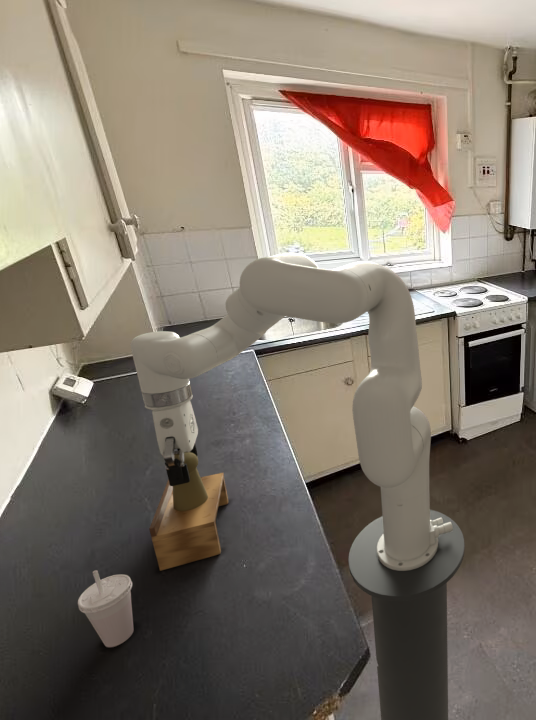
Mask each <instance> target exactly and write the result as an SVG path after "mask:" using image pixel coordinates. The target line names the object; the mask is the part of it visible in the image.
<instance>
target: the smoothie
mask: <svg viewBox="0 0 536 720" xmlns="http://www.w3.org/2000/svg"><path fill="white" fill-rule="evenodd" d="M92 576H93V579H94V581H95V582H94V583H93V584H91V585H90V586H88V587H87V588H86V589H85V590H84V591H83V592H82V593H81V594H80V596H79V597H78V600H77V606H78V610H79V611H80V612H81V613H83V614H84V615H85V616H86V618H87V619H88V621H89V622H90V625H91V626H92V627H93V629H94V630H95V632H96V633H97V635H98V637H99V638H100V640H101V642H102V643H103V645H104V646H105V647H106V648H114V647H117V646H119V645H121V644H123V643H124V642H126V641H127V640H128V639H129V638H130V637H131V636H132V635H133V633H134V631H135V630H134V616H133V605H132V592H131V590H132V588H133V581H132V579H131V577H130V576H129V575H128V574H123V573H122V574H121V573H119V574H113V575H110V576H107V577H103V578H102V579H101V578H100V574H99V571H98V569H95V570H93V571H92Z"/></svg>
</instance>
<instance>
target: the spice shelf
mask: <svg viewBox="0 0 536 720" xmlns="http://www.w3.org/2000/svg"><path fill="white" fill-rule="evenodd" d="M200 477H201V480H202V482H203V485H204V487H205V490H206V492H207V495H208V499H207V500H206V501H205V503H203V504H202V505H200V506H199V507H196V508H194V509H191V510H187V511H177V510H175V509H174V505H173V486H170V484H169V479H168V478H167V480H166V484H165V487H164V490H163V492H162V495H161V497H160V500H159V502H158V505H157V508H156V510H155V512H154V515H153V517H152V520H151V523H150V526H149V534H150V538H151V541H152V545H153V548H154V553H155V556H156V561H157V565H158V568H159V571H160V572H162V571H164V570H168V569H173V568H175V567H179V566H183V565H186V564H190V563H193V562H196V561H200V560H204V559H208V558H210V557H214V556H217V555H221V552H222V547H221V542H220V538H219V533H218V532H219V531H218V528H217V523H216V520H217V515H218V509H219V507H221V506H225V505H228V504H229V495H228V491H227V484H226V480H225V476H224V472H219V473H215V474H214V473H213V474H210V475H209V474H208V475H205V476H200Z"/></svg>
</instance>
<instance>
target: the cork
mask: <svg viewBox="0 0 536 720" xmlns="http://www.w3.org/2000/svg"><path fill="white" fill-rule="evenodd" d="M176 458H177V459H178V460H179V461H180V459H179V455H175V459H176ZM186 463H187V468H188V472H189V477H190V481H189V482H188V483H185V484H180V485H175V486H173V505H174V509H175V510H177V511H187V510H191V509H194V508H196V507H199V506H200V505H202V504H203V503H205V501H206V500H207V499H208V495H207V492H206V490H205V487H204V485H203V482H202V480H201V477H202V476H200V472H199V470H198V468H197V467H198V465H199V458H198V456H196V455H195V454H194V453H191V452H185V453H184V464H186Z"/></svg>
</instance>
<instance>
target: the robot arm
mask: <svg viewBox="0 0 536 720" xmlns="http://www.w3.org/2000/svg"><path fill="white" fill-rule="evenodd" d="M225 311H226V313H227V314H226V315H225V316H224V317H222V318H220V320H218V321H217V322H216V323H214V324H213V325H211V326H209V327H206V328H203V329H201V330H197V331H195V332H192V333H190V334H188V335H184V336H181V337H180V335H179V334H177V333H176V332H174V331H167V330H160V331H151V332H146V333H141V334H139V335H137V336H135V337H133V339H132V340H130V351H131V354H132V359H133V363H134V367H135V372H136V374H137V375H136V376H137V379H138V383H139V384H138V385H139V388H140V392H141V396H142V401H143V404H144V408H145V409H146V410H151V413H152V414H151V415H152V422H153V426H154V427H153V428H154V431H155V437H156V441H157V446H158V449H159V453H160V455H161V456H162V457H163V460H164V466H165V471H166V475H167V480H168V479H169V484H170V486H175V485H180V484H185V483H188V482H189V481H190V477H189V472H188V468H187V463H186V464H184V453H185V452H191V453H194V454H195V455H196V456H197V457H198V456H199V452H198V448H197V445H196V441H197V437H198V434H199V427H198V423H197V419H196V416H195V412H194V408H193V405H192V402H191V400H193V392H192V388H191V381H190V379H194V378H197V377H199V376H201V375H203V374H205V373H207V372H209V371H211V370H212V369H214V368H217V367H219V366H221V365H222V364H224V363H227V362H228V361H230V360H233V359H235V357H237V356H239V355H241V354H242V353H243V352H244V351H245V350H247V349H248V348H249V347H251V346H252V345H253V344H255V343H256V342H258V340H259V339H261V338H262V337H263V335H265V334H266V333H267V332H268V330H270V329H271V328H272V327H274V326H275V325H276V324H278V323H279V322H280V321H281V320H282V319H284V318H285V317H286V318H287V317H288V318H293V319H299V320H300V319H301V320H305V321H306V320H307V321H313V322H319V323H326V324H347V323H349V322H352V321H355V320H356V319H358V318H359V317H361V316H363V315H364V314H366V313H367V314H368V320H369V321H368V335H367V336H368V347H369V353H370V371H369V372H368V374H367V375H366V376H365V378H363V380H361V382H360V383H359V384H358V386H357V388H356V390H355V392H354V395H353V400H352V419H353V426H354V433H355V442H356V448H357V454H358V460H359V464H360V467H361V470H362V472H363V474H364V475H365V477H366V478H367V479H368V480H369V481H370V482H371V483H372V484H374V485H376V486H377V487H379V488H380V498H381V499H380V500H381V513H382V515H381V516H383V531H384V534H383V535H382V536H381V538H380V539H379V541H378V544H377V555H378V558H379V560H380V562H381V563H382V564H383V565H384V566H386V567H387V568H390V569H392V570H397V571H407V570H413V569H416V568H419V567H421V566H423V565H424V564H426V563H427V562H429V561H430V560H431V559H432V558H433V556H434V555H435V553H436V551H437V548H438V537H439V535H440V534H443V533H444V534H445V533H448V532H451V531H453V527H452V524H451V522H448V523H445V524H443V519H442V518H438V519H436V520H433V521H432V520H430V510H431V505H430V504H431V503H430V502H431V499H430V498H431V495H430V456H431V455H430V454H431V441H432V431H431V424H430V421H429V419H428V417H427V415H426V414H425V413H424V412H423V411H422V410H421V409H420V408H418V407H416V406H415V404H416V402H417V401H418V399H419V396H420V394H421V391H422V387H423V381H422V371H421V361H420V350H419V342H418V333H417V332H418V331H417V322H416V313H415V306H414V301H413V298H412V295H411V292H410V290H409V288H408V285H406V283H405V281H403V279H402V278H401V277H400V276H399V275H398V274H397V273H396V272H394V270H392V269H391V268H388V267H386V265H383V264H380V263H377V262H373V261H357V262H356V261H355V262H352V263H348V264H345V265H343V266H339V267H336V268H333V269H330V268H329V269H327V268H322V267H321V268H319V265H318V264H317V263H316V261H314V260H313V259H312V258H310V257H309V256H307V255H305V254H302V253H298V252H285V253H279V254H274V255H269V256H264V257H260V258H257V259H255V260H253V261H251V262H250V263H249V264H247V265H246V266H245V267H244V269H243V270H242V272H241V274H240V277H239V287H238V288H237V289H236V290H234V291H233V292H231V294H229V295H228V296H227V297H226V301H225ZM175 455H179V459H180V461H179V460H178V459H177V458H176V459H175ZM441 524H442V525H441ZM438 525H441V526H438Z"/></svg>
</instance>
